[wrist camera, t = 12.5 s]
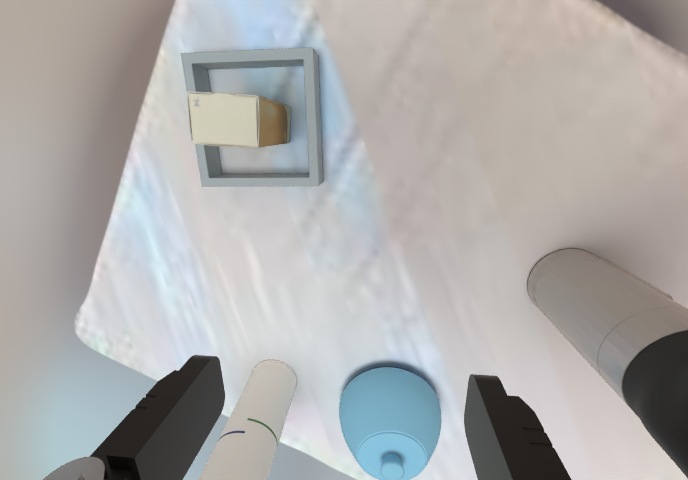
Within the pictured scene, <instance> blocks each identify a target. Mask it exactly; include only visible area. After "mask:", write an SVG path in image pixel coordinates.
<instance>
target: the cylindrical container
mask: <svg viewBox="0 0 688 480" xmlns="http://www.w3.org/2000/svg"><path fill="white" fill-rule="evenodd" d="M296 383H297V378H296V375H295V373H294V371H293V370H292V369H291V367H289V366H288V365H287V364H285V363H283V362H281V361H277V360H266V361H263V362H261V363H259V364H258V365H257V366H256V367H255V368H254V370H253V372H252V374H251V376H250V378H249V380H248V382H247V384H246V386H245V388H244V390H243V392H242V394H241V396H240V398H239V400H238V402H237V404H236V406H235V408H234V410H233V412H232V414H231V416H230V418H229V420H228V422H227V424H226V426H225V428H224V430H223V432H222V434H221V436H220V438H219V440H218V442H217V444H216V446H215V448H214V450H213V452H212V454H211V456H210V458H209V460H208V462H207V464H206V466H205V468H204V470H203V472H202V474H201V476H200V478H199V480H267V479H268V475H269V472H270V469H271V465H272V462H273V459H274V455H275V452H276V449H277V446H278V443H279V439H280V436H281V433H282V429H283V426H284V423H285V420H286V416H287V413H288V410H289V407H290V403H291V400H292V397H293V394H294V390H295V387H296Z"/></svg>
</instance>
